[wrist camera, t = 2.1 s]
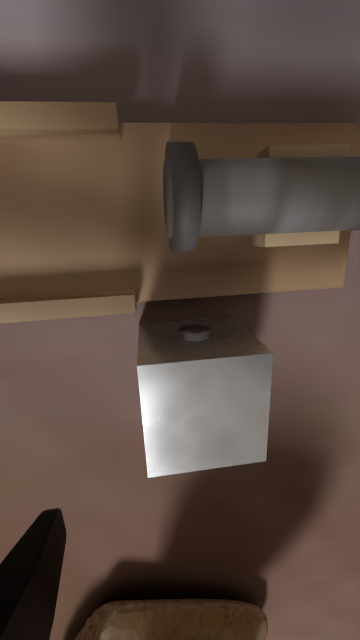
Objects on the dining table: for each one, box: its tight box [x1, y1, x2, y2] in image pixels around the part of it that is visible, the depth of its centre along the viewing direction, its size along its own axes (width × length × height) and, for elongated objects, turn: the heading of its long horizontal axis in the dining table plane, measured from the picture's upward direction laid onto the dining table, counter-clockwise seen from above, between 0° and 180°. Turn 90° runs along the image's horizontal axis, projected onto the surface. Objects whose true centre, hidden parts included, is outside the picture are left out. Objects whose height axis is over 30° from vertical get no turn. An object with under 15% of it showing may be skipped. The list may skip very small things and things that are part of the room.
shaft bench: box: [0, 101, 360, 323], centre depth 10 cm, size 8×27×5 cm, turn 92°
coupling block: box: [137, 316, 273, 478], centre depth 13 cm, size 6×5×5 cm
